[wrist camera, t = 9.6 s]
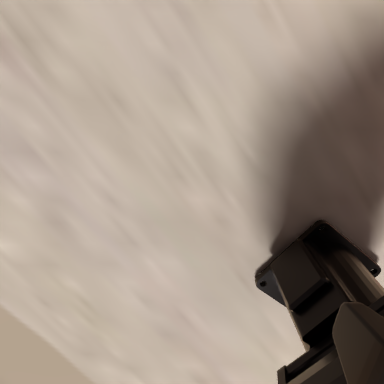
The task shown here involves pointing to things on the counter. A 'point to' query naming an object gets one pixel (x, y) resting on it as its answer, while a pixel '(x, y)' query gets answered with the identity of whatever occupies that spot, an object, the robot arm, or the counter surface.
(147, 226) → the counter surface
